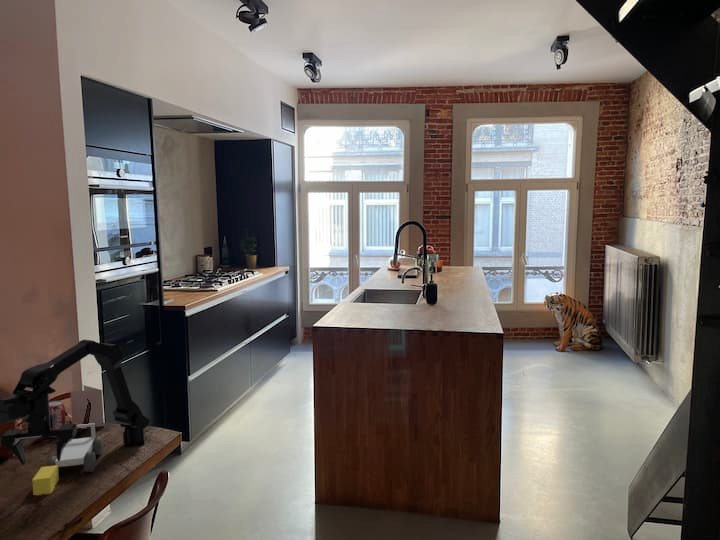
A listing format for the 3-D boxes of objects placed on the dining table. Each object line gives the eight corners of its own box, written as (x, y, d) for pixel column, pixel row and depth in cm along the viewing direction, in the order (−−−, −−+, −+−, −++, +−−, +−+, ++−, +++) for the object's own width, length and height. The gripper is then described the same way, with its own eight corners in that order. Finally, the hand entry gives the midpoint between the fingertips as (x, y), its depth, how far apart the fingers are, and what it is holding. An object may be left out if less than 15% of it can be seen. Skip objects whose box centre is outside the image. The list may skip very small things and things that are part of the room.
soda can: (70, 430, 194) (68, 400, 193) (58, 438, 187) (56, 407, 186) (53, 430, 195) (51, 399, 194) (40, 438, 188) (38, 406, 187)
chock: (59, 480, 158) (57, 465, 158) (50, 493, 150) (49, 477, 150) (42, 482, 157) (41, 467, 156) (33, 496, 149) (32, 479, 149)
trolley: (64, 454, 175) (62, 425, 174) (103, 449, 178) (102, 421, 177) (47, 480, 158) (45, 448, 157) (91, 475, 161) (89, 443, 160)
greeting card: (106, 426, 198) (103, 389, 197) (87, 433, 192) (85, 395, 190) (87, 421, 204) (85, 384, 202) (69, 427, 197) (67, 390, 196)
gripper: (80, 398, 159) (83, 446, 161) (12, 404, 154) (16, 454, 156) (70, 412, 149) (73, 463, 150) (-4, 418, 144) (1, 471, 145)
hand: (41, 462), depth 151 cm, fingers open, 9 cm apart
